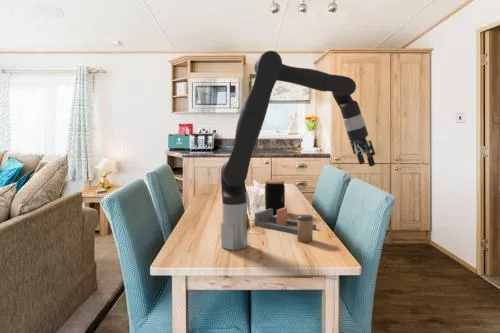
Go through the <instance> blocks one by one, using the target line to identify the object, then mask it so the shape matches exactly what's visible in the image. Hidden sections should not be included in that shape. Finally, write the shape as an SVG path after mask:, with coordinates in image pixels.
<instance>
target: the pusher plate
mask: <svg viewBox="0 0 500 333" xmlns="http://www.w3.org/2000/svg"><path fill="white" fill-rule="evenodd" d="M276 211H277V215H274V217H277V223H276V224H278V225H283V226H288V225H287V219H288V207H286V206H285V208H282V209H278V210H276Z"/></svg>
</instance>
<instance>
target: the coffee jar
mask: <svg viewBox="0 0 500 333" xmlns="http://www.w3.org/2000/svg"><path fill="white" fill-rule="evenodd" d="M264 183H265V185H264V200H265V201H264V204H265V205H264V207H265V208H264V210H265V209H269V208H271V209H273V216H275V215H277V211H276V210H278V209H282V208H285V207H286V206H285V204H286V203H285V202H286V201H285V200H286V196H285V194H286V193H285V192H286V191H285V190H286V188H285V184H284V183H285V180H283V179H267V180H264Z"/></svg>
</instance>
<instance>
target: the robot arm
mask: <svg viewBox="0 0 500 333" xmlns="http://www.w3.org/2000/svg"><path fill="white" fill-rule="evenodd" d="M253 69H254V72H255V77H254V82H253V84H252V87H251V89H250V92H248V95H247V97H246V99H245V101H244V103H243V106H242V108H241V110H240V114H239V117H238V119H237V125H236V129H235V136H234V142H233V143H234V144H233V147H232V151H231V153H230V155H229V158H228V160H227V161H226V162H225V163H223V165H222V166H221V170H220V183H221V185H220V186H221V188H220V189H221V198H222V223H220V230H221V232H220V233H221V237H220V238H221V248H222V249H226V250H229V251H238V250H243V249H246V248H247V247H248V220H247V219H248V216H247V215H248V214H247V211H248V210H247V208H248V207H247V193H246V182H245V181H246V179H247V177H248V173H249V168H250V163H251V160H252V154H253V151H254V149H255V146H256V144H257V142H258V139H259V135H260V133H261V131H262V128H263V125H264V122H265V119H266V115H267V111H268V107H269V104H270V100H271V95H272V93H273V89H274V88H275V85H276V82H277V81H278V82H284V83H289V84H294V85H298V86H302V87H306V88H309V89H312V90H315V91H319V92H323V93H324V92H331V93H332V94H331V95H332V96H333V99H334V100H335V102H336V104H337V106H338V107H339V109H340V111H341V115H342V118H343V123H344V128H345V130H346V133H347V137H348V140H349V142H350V145H351V150H352V153H353V155H355V156H356V157H357V161H358V164H359V165H362V164H365V163H366V161H365V158H364V156H365V157H366V160H367V162H368V166H369V167H374V166H375V165H376V163H375V162H376V161H375V159H374V156H375V155H376V152H375V149H374V145H373V143H372V142H373V141H372V140H371V139H370V140H367V137H368V136H369V131H368V129H367V126H366V122H365V118H364V117H363V115H362V114H363V113H362V111H361V108H360V106H359V103H358V101H357V100H354V99H353V98H352V96H351V95H352V94H353V95H354V92H355V91H356V90H357V84H356V82H355V81H354V79H352V78H351V77H349V76H345V75H338V74H330V73H327V72H323V71H322V70H321V71H320V70H316V69H313V68H307V67H305V68H304V67H296V66H290V65H286V64H284V63H283V60H282V57H281V55H280V54H279V52H277V51H275V50H267V51H265V52H263V53H262V54H260V56H258V58H257V59H256V61H255V63H254V68H253Z"/></svg>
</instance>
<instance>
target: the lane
mask: <svg viewBox="0 0 500 333" xmlns="http://www.w3.org/2000/svg"><path fill="white" fill-rule="evenodd" d="M254 226H256V227H260V228H265V229H271V230H275V231H279V232H280V231H281V232H284V233H289V234H294V235H297V220H293V219H288V218H287V225H284V226H283V225H278V224H277V217H275V216H274V215H273V209H271V208H269V209H266V210H265V209H264V210H260V211H258V212H257V211H256V212H254ZM315 230H317V224H315V223H313V231H315Z"/></svg>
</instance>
